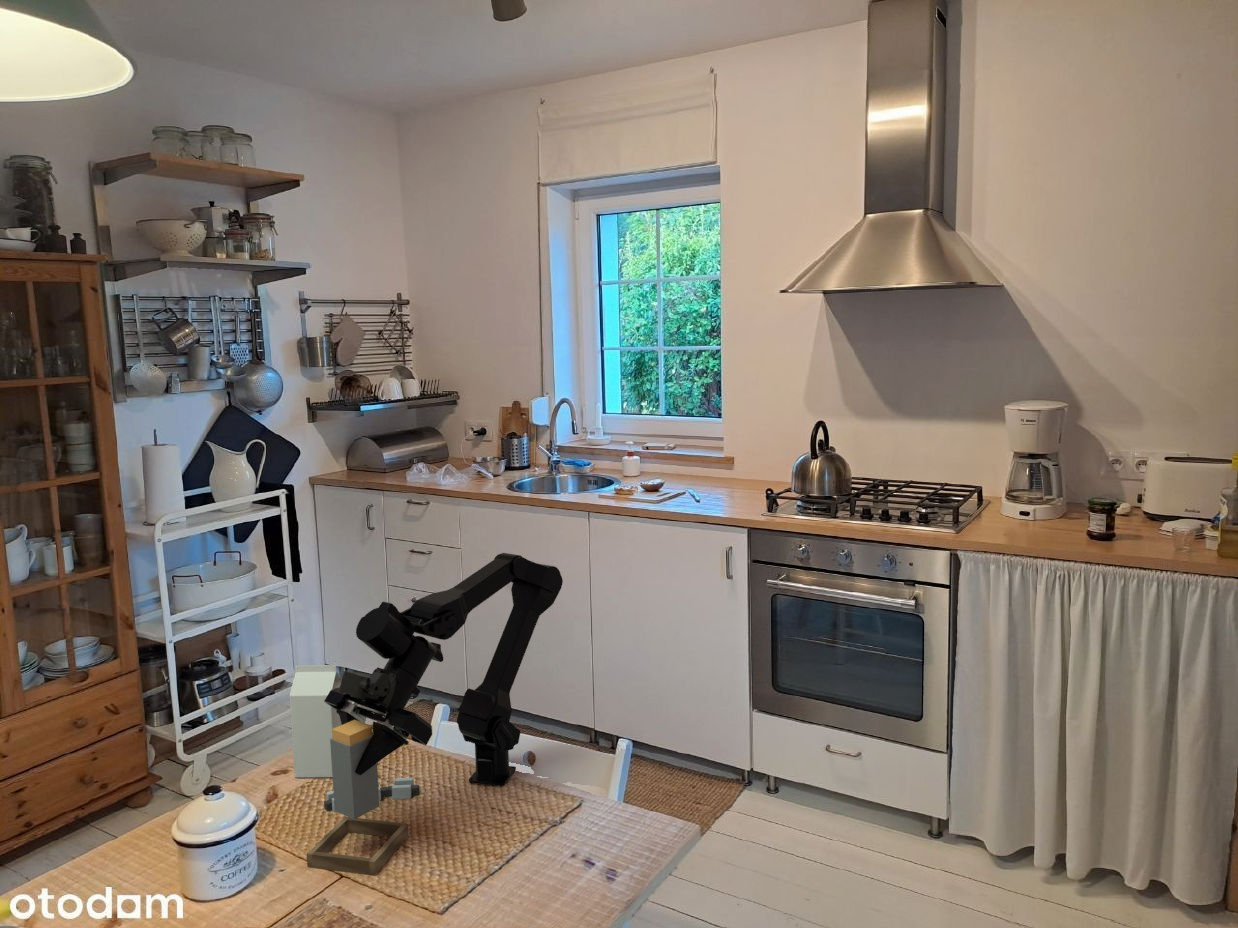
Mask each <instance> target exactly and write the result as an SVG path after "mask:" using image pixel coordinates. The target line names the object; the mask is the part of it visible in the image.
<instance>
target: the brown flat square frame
mask: <svg viewBox="0 0 1238 928" xmlns="http://www.w3.org/2000/svg"><path fill="white" fill-rule="evenodd" d="M348 833H352V834H354V833H355V834H362V835H369V836H370V835H371V836H380V837H389V838H388V840H387V841H386V842H385V843H384V844H383V845H382V846H381V847H380V848H379V849H378V851H377V852H376V853H375V854H374V855H373V856H372V858H371V857H364V856H355V855H347V854H339V853H338V854H337V853H331V852H330V851H331V850H332V848H333V847H334V846H335V845H337V843H339V841H340V840H342V838H343V837H344V836H345V835H347V834H348ZM409 836H410V835H409V823H408V822H407V823H404V822H396V821H389V820H388V821H387V820H378V819H370V818H363V817H362V818H361V817H358V818H357V819H355V820H354V819H352V818H350V817H347V816H344V817H343V818H341V820H340V821H339V822H338V823H337V824H335V826H333V827H332V829H330V830H329V831H328V832H327V833H326V834H325V835H324V836H323V837H322V838H321V839H320V840H319V841H318V842H317V843H316V844H315V845H314V846H313V847H312V848H311V849H310V850H308V851H307V852H306V867H307V868H312V869H313V868H314V869H320V870H328V871H338V872H345V873H352V874H353V873H354V874H360V875H368V876H376V875H377V874H378V873H379V871H381V869H382V868H383V867H384V866H385V864H386V863H387V862H388V861H389V860H390V859H391V858H392V856H393V855H394V853H396V851H397V850H398V849H400V847H401V846H402V844H403V843H404V842H405V841H406V840H407V839H408V838H409Z"/></svg>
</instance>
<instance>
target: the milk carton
mask: <svg viewBox="0 0 1238 928" xmlns="http://www.w3.org/2000/svg"><path fill="white" fill-rule="evenodd" d="M341 680H342V676H341V675H340V674H339V672H338V671H337V665H334V664H333V665H331V664H330V665H295V673H294V678H293V682H292V685H291V689H290V692H289V704H290V705H289V706H290V707H289V708H290V723H291V724H290V725H291V739H292V755H293V756H292V757H293V770H294V778H333V776H332V761H331V746H330V739H332V729H334V728H336V727H338V726H341V720H340V716H339V714H337V713H336V710H335V709H334V708H332V707H331V706H329V705H328V704H327V703H325V702H324V700H325V699H326V697H327V696H328V694H329V692H330V691H331V690H333V689H335V688H339V687H340V684H341Z"/></svg>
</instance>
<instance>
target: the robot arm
mask: <svg viewBox="0 0 1238 928" xmlns="http://www.w3.org/2000/svg"><path fill="white" fill-rule="evenodd" d="M563 581H564V580H563V577H562V575H561V571H560V570H559V568H558V567H557V566H555V565H549V564H543V563H537V562H534V561H533V560H529V559H527V558H525V557H523V556H522V555H519V554H515V553H514V554H513V553H509V552H502V553H499V554H497V555H496V556H495V557H494V558H493V559H492V560H491V561H490V562H489V563H487V564H486V565H484V566H483V567H481V568H480V569H478V570H476V571H475V572H473V573H472V574H471V575H469V576H468V577H466V578H465V579H464V580H461V581H460V582H459V583H458V584H456V585H454V586H452V587H451V588H449V589H446V590H442V591H438V592H433V593H430V594H427V595H425V596H423V597H421V598H419V599H417V600H416V601H414V602H413V604H412V605H411V607H409V608H407V609H405V610H402V611H399V610H398V608H397V607H396V606H395V605H394V604H393V603H391V602H387V601H382V602H381V603H380V605H379V606H378V607H376V608H373V609H372V610H370V611H368V612H367V613H365V615H364V616H362V617H361V618H360V619H359V621H358V623H357V625H356V630H355V635H356V638H357V639H358V640H360V642H362V643H363V644H364V645H365V646H367V647H368V648H370V649H371V650H372V651H373V652H374V653H376V654H377V655H378V656H380V657H381V658H382V659H385V660H387V662H386V664H385V665H384V668H381V667H377V668H374V670H373V671H372V673H371V674H366V673H361V672H356V671H350V670H344V671H343V674H342V676H341V678H342V680H341V684H340V687H339V688H335V689H333V690H331V691H330V692H329V694H328V696H327V697H326V699H325V700H324V702H325V703H327V704H328V705H329V706H331V707H332V708H334V709H335V710H336V713H337V714H339V716H340V720H341V725H343V724H345V723H348V722H350V721H353V720H357V721H360V722H363V723H366V722H367V719H369V720H372V731H373V736H372V738H371V740H370V742H369V744H368V746H367V748H366V749H365V751H364V753H363V755H362V757H361V759H360V761H359V763H358V766H357V768H356V770H355V773H357V774H358V775H362V774H363V773H365V772H366V771H367V770H369V769H370V768H371V767H372V766H374V765H375V764H376V763H377V764H378V763H379V762H381V761H382V760H383V759H384V758H386V757H387V756H389V755H390V754H391V753H394V752H395V751H396V750H398V749H399V748H401V747H402V746H404V745H405V746H408V745H409V743H410V741H409V740H407V739H408V738H409V735H410V736H411V737H410V738H411V741H413V742H415V743H417V744H420V745H423V746H427V745H428V744H429V742H430V739H431V738H432V736H433V725H432V724H431V723H429V722H428V721H426V720H425V719H424V718H423V717H421V716H419V714H417V713H416V712H413V711H411V710H407V709H405V708H406V706H407V704H408V702H409V701H410V699H411V697H412V696H413V697H418V696H419V694H420V693H421V690H420V689H419V688H417V687H418V685H419V683H420V681H421V679H422V678H423V675H424V674H425V673H426V671H427V669H428V667H429V665H430V663H431V662H432V661H435V662H439V663H442V662H444V654H443V652H442V649H441V648H442V645H441V644H440V643H437V642H434V641H431V642H430V641H429V640H428V639H427V638H425V637H430V638H434V639H438V640H442V641H445V640H449V639H451V638H452V637H453V636H454V635H455V634H457V632H458V631H459V630H460V629H461V628H462V627H463V626H464V625H465V624H466V622H467V618H468V615H469V613H471V612H472V611H474V609H476V608H477V607H478V606H480V605H481V604H483V603H485V601H487V600H488V599H489V598H491V597H493V595H495V594H496V593H498V592H499V591H500V590H502V589H503V588H505V587H506V586H507V585H508V584H510V583H512V585H511V590H510V592H511V599H512V608H511V611H510V614H509V616H508V618H507V621H506V624H505V626H504V628H503V630H502V633H501V636H500V638H499V641H498V644H497V647H496V649H495V651H494V653H493V656H492V659H491V661H490V664H489V666H488V669H487V671H486V673H485V676H484V678H483V680H482V682H481V684H479V685H478V686H477V687H476V688H475V689H473V688H467V690H466V691H465V692H464V695H463V698H462V702H461V704H460V706H459V707H458V708H457V712H458V714H457V717H456V724H457V726H458V729H459V731H460V733H461V735H462V737H463V739H464V742H469V743H472V744H474V751H475V752H474V756H475V758H474V760H475V771H474V772H473V774H472V775H470V777H469V779H468V783H469V784H477V785H486V786H487V785H489V786H499V787H503V786H506V785H507V783H508V781H509V780H510V779H511V778H512V776H513V775H514V773H515V772H516V771H517V767H516V766H514V765H513V766H512V765H510V757H509V756H510V755H509V752H510V751H512V750H514V747H515V746H516V745H518V744H519V742H520V737H521V730H520V729H518V728H517V727H516V726H515V725H514V724H513V723H511V722H510V720H511V715H512V710H513V709H512V704H511V703H512V702H511V695H510V693H511V690H512V687H513V685H514V683H515V680H516V678H517V675H518V672H519V669H520V667H521V664H522V661H523V660H524V656H525V654H526V651H527V649H528V647H529V644H530V641H531V639H532V636H533V633H534V631H535V628H536V625H537V624H538V621H539V618H540V616H541V615H542V614H544V612H546V611H547V610H548V609H549V608H551V607H552V606H553V605H554V603H555V601H556V599H557V597H558V595H559V594H560V591H561V590H562V586H563ZM414 633H416V634H418V635H414ZM424 636H425V637H424Z"/></svg>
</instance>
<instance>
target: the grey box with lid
mask: <svg viewBox="0 0 1238 928" xmlns="http://www.w3.org/2000/svg"><path fill="white" fill-rule="evenodd" d="M372 736H373V725H371V724H368V723H366V722H365V723H363V722H360V721H357V720H353V721H350V722H348V723H345V724H343V725H341V726H338V727H336V728H334V729H332V739H330V746H331V761H332V776H333V777H332V787H333V788H332V791H333V792H334V807H335V811H336V812H335V813H337V812H338V813H339V814H341V815H343V816H344V817H350V818H352V819H354V820H355V819H357V818H361V817H362V816H364V815H366V814H368V813H369V812H372V811H374V810H376V809H377V808H379V807H380V801H379V791H378V781H379V779H378V778H379V775H378V774H379V773H378V763H376V764H375V765H374V766H372V767H371V768H370V769H369V770H367V771H366V772H365V773H363V774H362V775H358V774H357V773H355V770H356V768H357V766H358V763H359V761H360V759H361V757H362V755H363V753H364V751H365V749H366V748H367V746H368V744H369V742H370V740H371V738H372Z"/></svg>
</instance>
